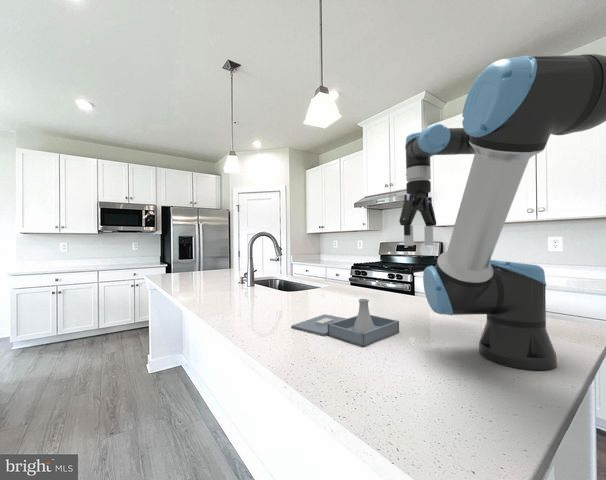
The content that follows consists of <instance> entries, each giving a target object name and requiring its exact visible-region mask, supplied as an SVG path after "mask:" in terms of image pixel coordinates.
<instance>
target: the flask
mask: <svg viewBox="0 0 606 480" xmlns="http://www.w3.org/2000/svg"><path fill="white" fill-rule="evenodd" d="M358 302H359V303H358V304H359V307H358V312H357V315H356V316H357V319H356V322H355V324H354V327H353V331H356V332H360V333H364V332H367V331H370V330H373V329H375V327H374V324H373V322H372V319H371V316H370V315H371V313H370V309H369V302H370V300H369V298H358Z"/></svg>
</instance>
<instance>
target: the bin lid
mask: <svg viewBox="0 0 606 480" xmlns="http://www.w3.org/2000/svg"><path fill="white" fill-rule="evenodd" d="M344 319H347V317H346V318H345V317H341V316H336V315H330V314H325V313H324V314H322V315H319V316H315V317H312V318H310V319H309V318H308V319H306V320H304V321H301V322H298V323H295V324H292V325H291V326H290V328H291V329H294V330H298V331H301V332H305V333H309V334H314V335H318V336H321V337H326V336H328V324H330V323H333V322H337V321H340V320H344Z"/></svg>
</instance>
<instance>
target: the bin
mask: <svg viewBox="0 0 606 480" xmlns="http://www.w3.org/2000/svg"><path fill="white" fill-rule="evenodd" d="M370 316H371V319H372V322H373V324H374V327H375V329H373V330H370V331H367V332H364V333H360V332H356V331H353V327H354V324H355V322H356V319H357V315H354V316H351V317H348V318H347V317H346V318H347V319H344V320H340V321H337V322H333V323H330V324H328V335H327V337H330V338H332V339H333V338H334V339H337V340H340V341H343V342H347V343H349V344H352V345H355V346H358V347H362V348H364V347H367V346H369V345H371V344H374V343H376V342H379V341H381V340H384V339H386V338H388V337H391V336H393V335H397V334H399V333H400V320H396V319H391V318H387V317H381V316H377V315H373V314H370Z"/></svg>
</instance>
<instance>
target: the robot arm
mask: <svg viewBox="0 0 606 480" xmlns="http://www.w3.org/2000/svg"><path fill="white" fill-rule="evenodd" d="M462 118H463V120H462V122H461V124H462V127H452V128H450V127H447V126H446V125H443V124H441V123H433V124H430V125H429V126H428V127H426V128H424V129H423V130H422V131H415V132H412V133H410V134H408V135H407V136H406V138H405V146H404V147H405V148H404V149H405V169H406V170H405V171H406V172H405V176H406V186H405V187H406V194H405V195H404V197H403V198H404V199H403V200H404V202H403V205H402V209H401V213H400V216H399V220H398V221H399V223H400V224H399V225H400V226H403V244H404V245H403V246H404V247H414V225H413V224H412V223H413V222H414V219H415V217H416V215H417V214H416V213H417V211H418V212H420V215H421V217H422V219H423V223H424V224H425V225H424V229H423V231H424V246H434V227H436V226H437V219H436V214H435V211H434V210H435V209H434V206H433V201H432V197H431V196H428V197H427V194H429V193H431V187H432V184H431V179H432V178H431V174H432V173H431V170H432V169H431V157H433V156H448V155H449V156H455V155H473V159H472V162H471V165H470V170H469V173H468V177H467V180H466V182H465V183H466V184H465V187H464V191H463V194H462V198H461V201H460V204H459V208H458V212H457V214H456V215H457V216H456V219H455V223H454V226H453V230H452V233H451V236H450V239H449V244H448V246H447V251H444V252H441V254H439V256H438V258H437V260H436V265H430V266H426V267H425V268H424V270H423V276H422V280H423V281H422V282H423V283H422V284H423V290H424V294H425V297H426V300H427V304H428V305H429V307H430V309H431V310H432V311H433V312H434V313H435V314H437V315H449V316H460V315H461V316H465V315H486V322H485V325H484V328H483V331H482V334H481V336H480V338H479V343H478V351H479V353H480V355H481V356H482V357H484V358H485V359H488V360H489V361H492V362H494V363H496V364H499V365H503V366H506V367H510V368H511V367H512V368H515V369H521V370H528V371H529V370H530V371H548V370H552V369H554V368H556V367H557V359H558V358H557V354H556V351H555V348H554V346H553V343H552V340H551V339H550V336H549V333H548V331H547V319H546V318H547V315H546V314H547V313H546V312H547V311H546V310H547V309H546V304H547V303H546V288H547V282H546V275H545V270H544V268H542V266H540V265H537V264H532V263H531V264H530V263H521V262H513V261H512V262H511V261H504V260H497V259H492V256H493V254H494V250H495V248H496V246H497V243H498V240H499V238H500V236H501V232H502V231H503V228H504V225H505V223H506V220H507V219H508V215H509V212H510V210H511V208H512V205H513V202H514V199H515V197H516V195H517V192H518V189H519V186H520V184H521V181H522V178H523V176H524V173H525V170H526V168H527V166H528V164H529V161H530V159H531V158H532V157H534V156H536V155H538V154H540V153H542V152H544V150H545V149H546V146H547V143H548V141H549V138H550V136H551V135H552V136H564V135H570V134H573V133H579V132H583V131H587V130H591V129H594V128H595V127H598V126H600V125H601V124H603V123H605V122H606V55H604V54H603V55H602V54H597V53H595V54H594V53H591V54H589V53H588V54H573V55H571V54H569V55H566V54H565V55H538V56H537V55H534V56H531V55H523V56H516V57H509V58H502V59H498V60H496V61H494V62H492V63H490V64H489V65H488V66H487V67H486V68H484V69H483V71H481V73H480V74H478V76H477V78H476V79H475V80H474V82H473V84H472V85H471V87H470V89H469V91H468V93H467V96H466V99H465V101H464V105H463V109H462Z"/></svg>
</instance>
